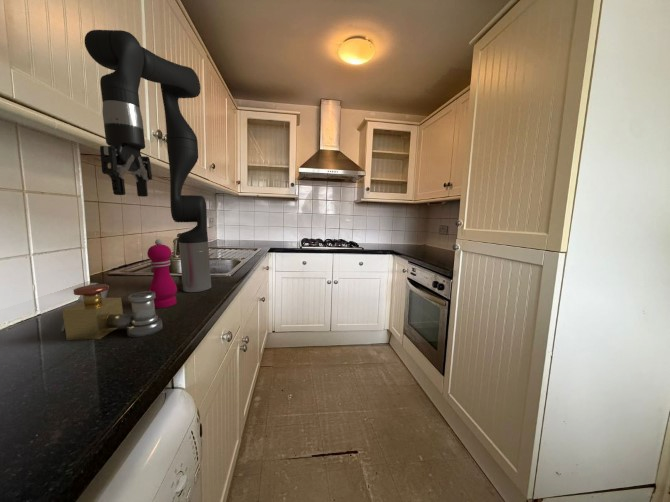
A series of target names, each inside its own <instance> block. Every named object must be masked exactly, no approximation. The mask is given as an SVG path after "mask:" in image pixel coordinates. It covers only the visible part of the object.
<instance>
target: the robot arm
mask: <svg viewBox="0 0 670 502" xmlns="http://www.w3.org/2000/svg"><path fill="white" fill-rule="evenodd" d="M83 41H84V47H85V49H86V52H87V53H88V54H89V56H90V57H91V58H92V60H94V61H95V62H96V63H97V64H98V65H100V66H102V67H104V68H105V69H108V70H112V71H113V72H110V73H107V74H105V75H102V76H101V77H100V81H99V82H100V83H99V84H100V86H99V87H100V92H101V101H102V112H101V113H102V120H103V128H104V129H103V130H104V135H105V136H104V137H105V138H104V139H105V143H106V145H100V147H99V150H100V151H99V152H100V162H101V163H100V164H101V173H102V174H103V175H107V176H108V177H109V178H110V179H111V185H112V186H111V187H112V192H113V194H114V195H115V196H125V195H126V186H125V179H124V176H125V174H126V172H129V173H130V175H132V176H133V177H134V178H135V181H136V182H135V185H136V193H137V196H138V197H148V196H149V195H148V193H149V192H148V184H147V183H148V182H149V181H152V180H153V173H152V167H151V166H152V165H151V160H150V159H151V158H150V157H149V156H145V155H144V156H142V153H141V150H144V149H145V148H146V141H145V131H144V121H143V120H144V119H143V116H142V112H141V105H140V104H141V103H140V95H139V89H140V84H141V80H142V79H143V80H146V81H149V82H152V83H157V84H159V85H160V92H161V97H162V103H163V109H164V119H165V128H166V129H165V130H166V131H165V132H166V149H167V150H166V151H167V157H168V167H169V179H170V180H169V181H170V182H169V183H170V184H169V185H170V186H169V188H170V191H169V193H170V195H169V197H170V200H169V205H170V214H171V215H170V216H171V218H172V220H173V222H175V223H196V225H195V227H193V228H191V229H190V230H187V231H183V232H181V233H180V234H178V236H177V237H178V249H179V258H180V259H179V261H180V271H181V282H182V291H183V292H185V293H197V292H199V293H200V292H203V291H207V290H210V289H211V288H212V278H211V277H212V275H211V268H210V267H211V264H210V263H211V262H210V250H209V237H208V236H209V235H208V225H207V224H208V223H207V222H208V221H207V220H208V219H207V217H208V213H207V212H208V211H207V201H206V198H205V197H204V196H203V195H195V194H193V195H192V194H189V195H188V194H186V195H185V194H184V195H182V190H183V186H184V185H185V181H186V180H187V177H188V176H189V174H190V173H191V171H192V170H193V169H194V167H195V166H196V164H197V162H198V160H199V144H198V138H197V135H196V133H195V131H194V129H192V127H191V126H190V124H189V123H188V122H187V120H186V119H185V117H184V116H183V115H182V112H181V110H180V105H179V99H193V98H194V99H195V98H197V97H199V95H200V94H201V83H200V79H199V76H198V74H197V73H196V72H195V70H194V69H193V68H192V67H189V66H186V65H181V64H178V63H175V62H173V61H170V60H168V59H165V58H164V57H161V56H159V55H157V54H155V53H153V52H152V51H150V50H148V49H147V48H145V47H143V46H142V45H141V43H140V42H139V40H138V39H137V37H135V36H134V35H133V34H132V33H131V32H129V31H126V30H121V29H120V30H118V29H115V30H114V29H92V30H89V31H88V32H87V33H86V34H85V36H84V40H83ZM108 165H109V166H108Z"/></svg>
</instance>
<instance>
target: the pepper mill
mask: <svg viewBox="0 0 670 502" xmlns="http://www.w3.org/2000/svg"><path fill="white" fill-rule="evenodd" d="M154 243H155V244H153V245H152V246H150V247H149V248H148V249H147V257H148V259H150V260H151V261H150V268H151V267H152V271H153V277H152V280H151V282H150V285H149V288H148V291H154V292H155V296H156V298H155V299H154V305H155V308H156V309H163V308H168V307H172V306H174V305H176V304H177V296H175V295H176V294H177V292H178V287H177V285H176V282H175V281H174V279H173V277H172V276H171V273H170V265H171V260H170V258H171V257H172V250H171V248H170V247H169V246H168V245H165V244H163V241H162V239H160V238H158V239H156V240H155V241H154Z"/></svg>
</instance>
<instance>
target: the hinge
mask: <svg viewBox="0 0 670 502" xmlns="http://www.w3.org/2000/svg"><path fill="white" fill-rule="evenodd" d="M96 284H100V283H99V282H90V283H89V284H88V285H96ZM109 288H110V286H109V285H108V290H106V291H104V292H101V296H102V298H107V296H108V292H109ZM83 301H84V300H83V295H79V297H78V299H77V301H76V304H78V303H81V302H83ZM64 331H65V325H64V323H63V324H62V327H61V330H60V332H64Z"/></svg>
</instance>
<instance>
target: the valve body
mask: <svg viewBox="0 0 670 502" xmlns="http://www.w3.org/2000/svg"><path fill="white" fill-rule="evenodd" d="M108 286H109V285H108V284H105V283H103V284H102V283H101V284H100V283H99V284H96V285H89V284H88V285H84V286H79V287H76V288H74V289H73V295H75V296H80V295H83V300H84V301H83V302H81V303H78V304H77V303H76V304H74V305H73V304H72V306H68V307H66V308H64V309H61V312H62V319H63V324H64V325H65V330H64V331H65V336H66V341H71V340H72V341H74V340H81V341H82V340H101V339H103V338H104V337H106V336H107V335H109V334H110V333H112V332H114V331H115V330H117V329H126V335H127V336H128V337H131V338H140V337H147V336H151V335H154V334H156V333H157V332H160V331H161V330H162V329H163V321H162V318H161V317H160V316H158V321H157V322H156V323H154V324H152V325H149V326H144V327H133V326H132V322H131V320H132V319H133V313H123V312H124V310H123V309H124V308H123V303H122V297H106V298H102V296H101V292H104V291H106V290H108V291H109V289H108Z"/></svg>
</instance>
